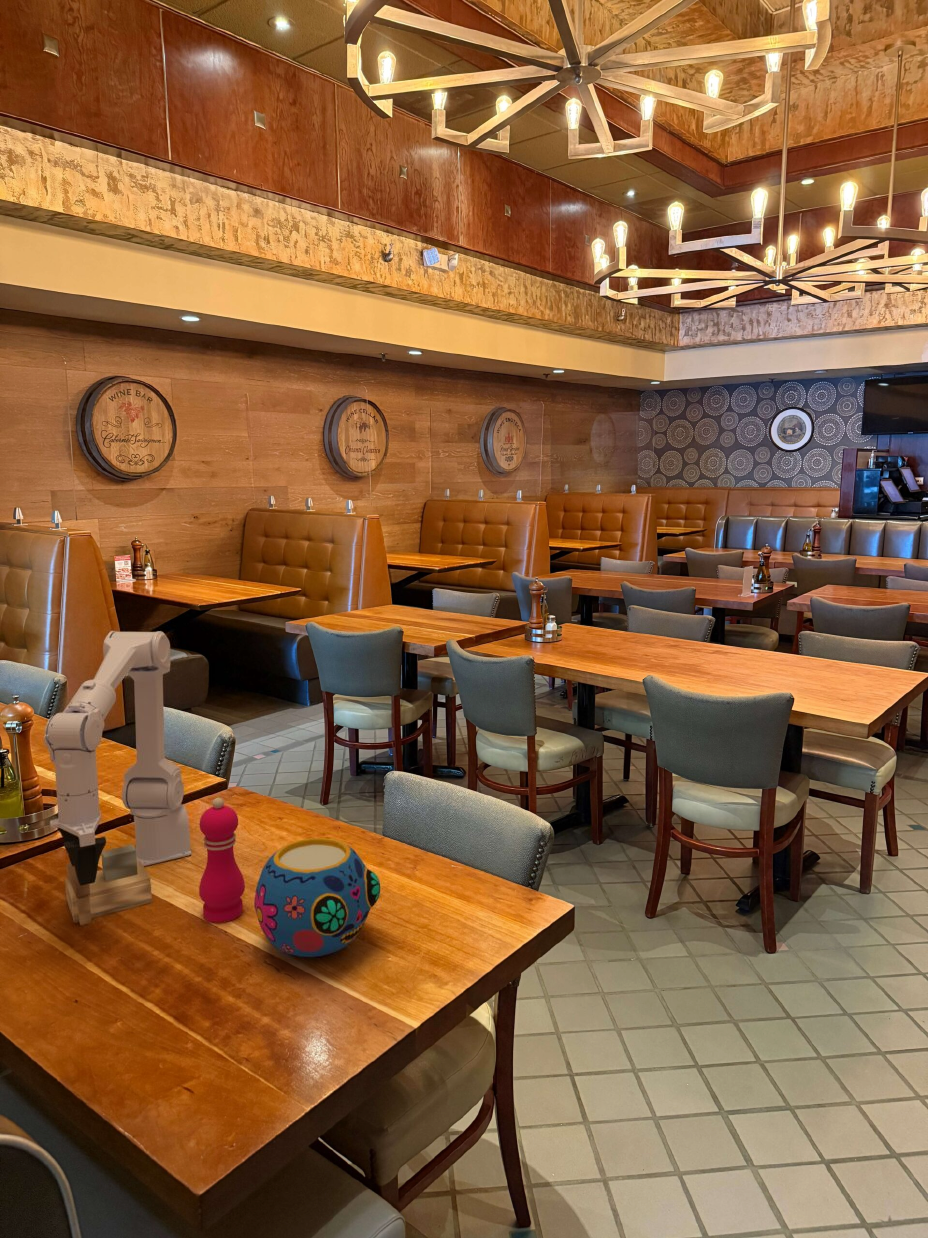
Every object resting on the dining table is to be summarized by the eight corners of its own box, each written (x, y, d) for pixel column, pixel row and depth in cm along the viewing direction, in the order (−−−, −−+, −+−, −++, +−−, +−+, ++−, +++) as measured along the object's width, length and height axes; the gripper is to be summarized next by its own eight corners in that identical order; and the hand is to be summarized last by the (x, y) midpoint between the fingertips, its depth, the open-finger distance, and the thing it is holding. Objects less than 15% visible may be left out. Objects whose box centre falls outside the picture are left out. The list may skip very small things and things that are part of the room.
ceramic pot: (321, 994, 112) (319, 893, 110) (231, 955, 122) (227, 861, 119) (395, 935, 127) (395, 845, 125) (310, 904, 136) (308, 820, 134)
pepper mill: (233, 927, 129) (227, 808, 126) (191, 922, 131) (185, 804, 127) (253, 904, 136) (248, 791, 133) (214, 900, 138) (208, 788, 134)
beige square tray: (139, 880, 144) (138, 856, 144) (154, 906, 136) (152, 881, 135) (65, 898, 138) (63, 873, 137) (75, 927, 129) (73, 901, 128)
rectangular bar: (80, 870, 138) (79, 860, 138) (90, 895, 130) (89, 884, 130) (67, 873, 137) (66, 863, 137) (76, 898, 129) (75, 887, 129)
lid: (140, 865, 143) (138, 837, 142) (150, 882, 136) (148, 853, 135) (65, 883, 136) (63, 854, 135) (72, 902, 130) (70, 872, 129)
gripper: (42, 780, 127) (48, 862, 129) (54, 810, 115) (61, 899, 117) (91, 772, 131) (96, 852, 133) (107, 800, 119) (113, 887, 121)
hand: (83, 873), depth 125 cm, fingers open, 7 cm apart
